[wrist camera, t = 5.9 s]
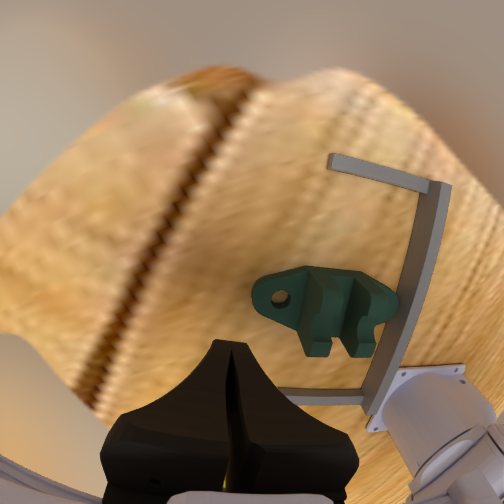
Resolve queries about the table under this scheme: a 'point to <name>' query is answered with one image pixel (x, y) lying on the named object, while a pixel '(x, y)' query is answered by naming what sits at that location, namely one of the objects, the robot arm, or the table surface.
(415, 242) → the u-shaped gray bracket
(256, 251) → the table surface
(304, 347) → the mount
